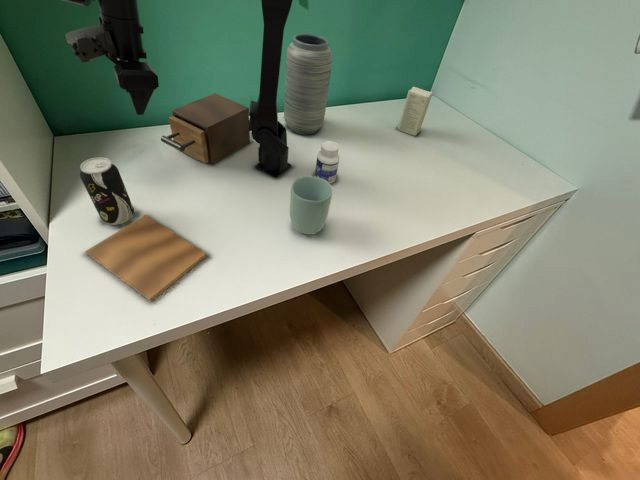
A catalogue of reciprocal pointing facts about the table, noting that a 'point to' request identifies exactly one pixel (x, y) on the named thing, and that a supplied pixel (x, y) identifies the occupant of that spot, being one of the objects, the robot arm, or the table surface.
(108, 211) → the beverage can
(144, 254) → the wooden board
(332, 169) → the pill bottle
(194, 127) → the drawer
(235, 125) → the cabinet
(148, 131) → the table surface
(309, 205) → the cup
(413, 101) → the cosmetic box
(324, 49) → the vase
